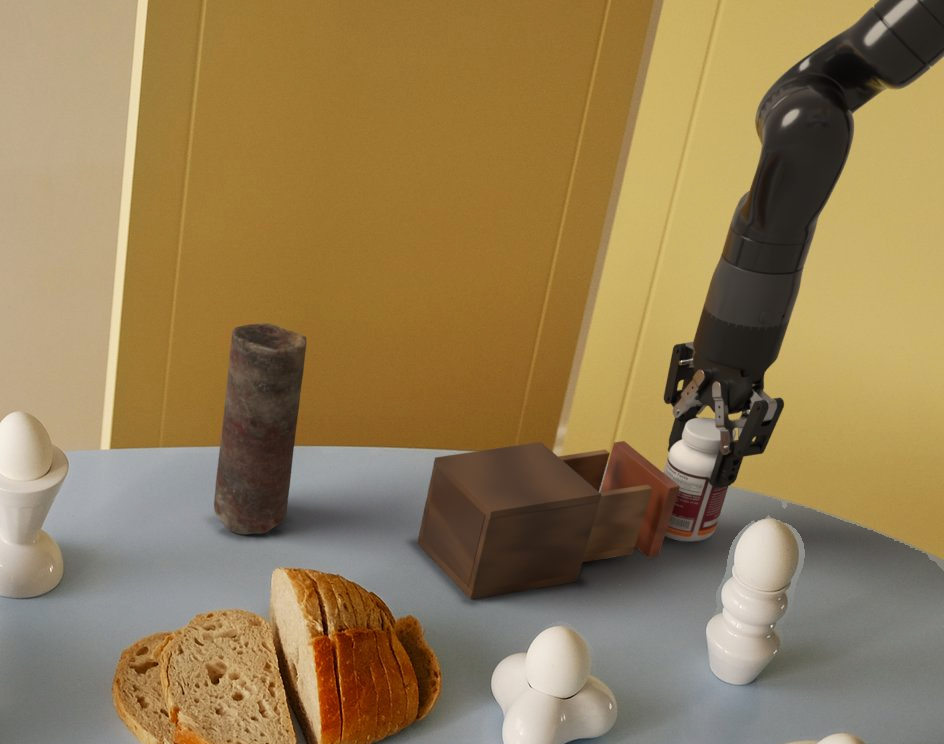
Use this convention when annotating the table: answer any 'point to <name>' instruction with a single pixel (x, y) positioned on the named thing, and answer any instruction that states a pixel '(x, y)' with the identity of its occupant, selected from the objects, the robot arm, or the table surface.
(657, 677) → the table surface
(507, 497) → the cabinet
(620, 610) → the table surface
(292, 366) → the brown clay vase
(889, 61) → the robot arm
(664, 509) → the drawer
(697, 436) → the pill bottle
